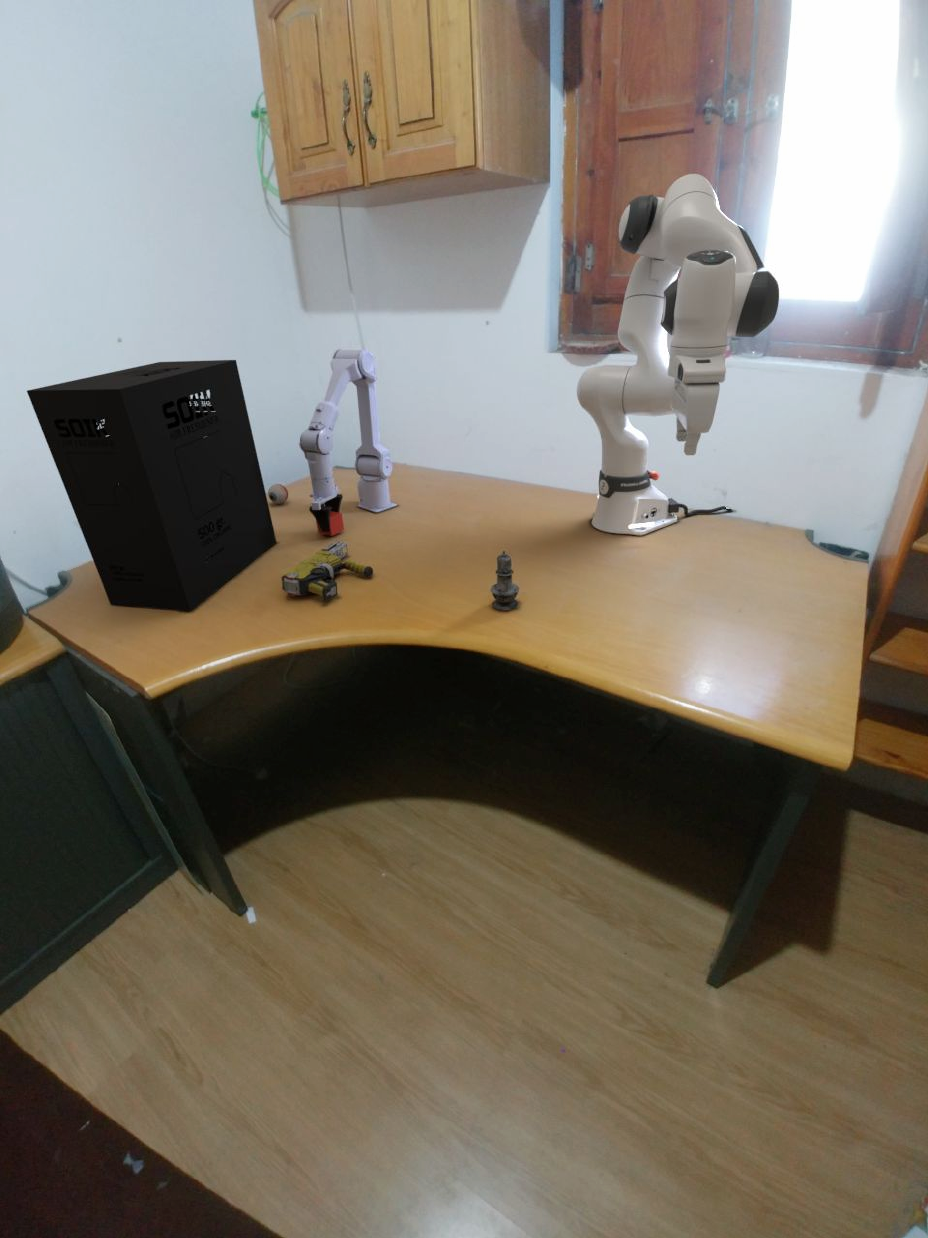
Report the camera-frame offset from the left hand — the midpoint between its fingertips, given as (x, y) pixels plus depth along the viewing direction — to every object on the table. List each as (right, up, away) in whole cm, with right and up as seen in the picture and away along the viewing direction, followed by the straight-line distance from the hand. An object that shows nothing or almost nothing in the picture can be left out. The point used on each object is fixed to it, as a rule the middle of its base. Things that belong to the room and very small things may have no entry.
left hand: (330, 526), depth 163 cm
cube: (0, -1, +1) cm, 1 cm away
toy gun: (+7, -16, -24) cm, 29 cm away
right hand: (+76, +6, -55) cm, 94 cm away
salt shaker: (+45, -22, -38) cm, 63 cm away
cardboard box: (-28, -13, -16) cm, 35 cm away
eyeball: (-21, +11, +25) cm, 35 cm away
